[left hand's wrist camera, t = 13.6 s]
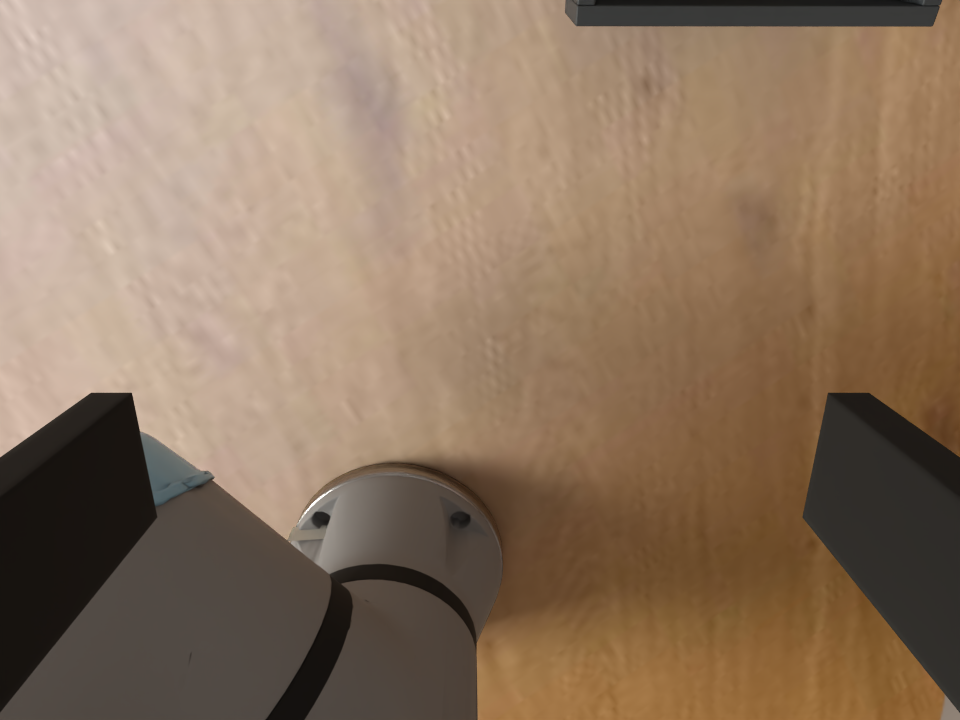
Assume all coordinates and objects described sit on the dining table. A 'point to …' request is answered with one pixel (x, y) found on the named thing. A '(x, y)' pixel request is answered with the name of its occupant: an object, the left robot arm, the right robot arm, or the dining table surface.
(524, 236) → the dining table surface
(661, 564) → the dining table surface
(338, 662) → the left robot arm
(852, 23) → the tray
